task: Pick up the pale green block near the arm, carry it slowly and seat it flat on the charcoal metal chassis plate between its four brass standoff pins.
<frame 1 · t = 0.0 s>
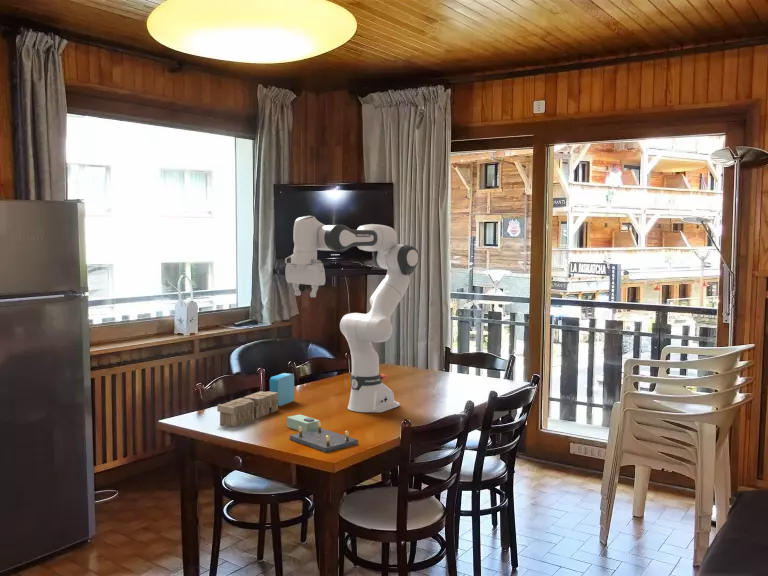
hand: (305, 296, 268), 48 cm above the table, fingers open, 8 cm apart
chassis: (323, 441, 246), on the table
data package: (282, 403, 300), on the table
pale green block: (303, 429, 262), on the table
block tower: (248, 418, 277), on the table
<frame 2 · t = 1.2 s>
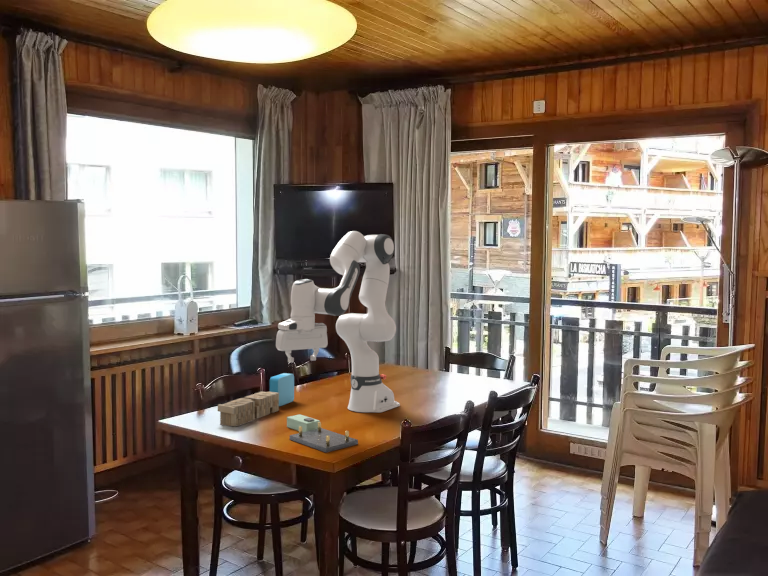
hand: (302, 361, 261), 25 cm above the table, fingers open, 8 cm apart
nothing on the table moved.
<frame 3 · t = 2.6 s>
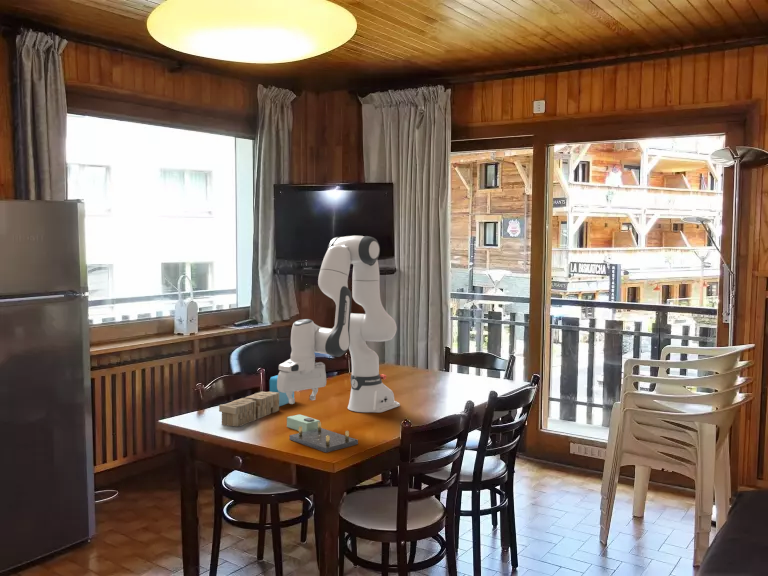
hand: (302, 401, 261), 10 cm above the table, fingers open, 8 cm apart
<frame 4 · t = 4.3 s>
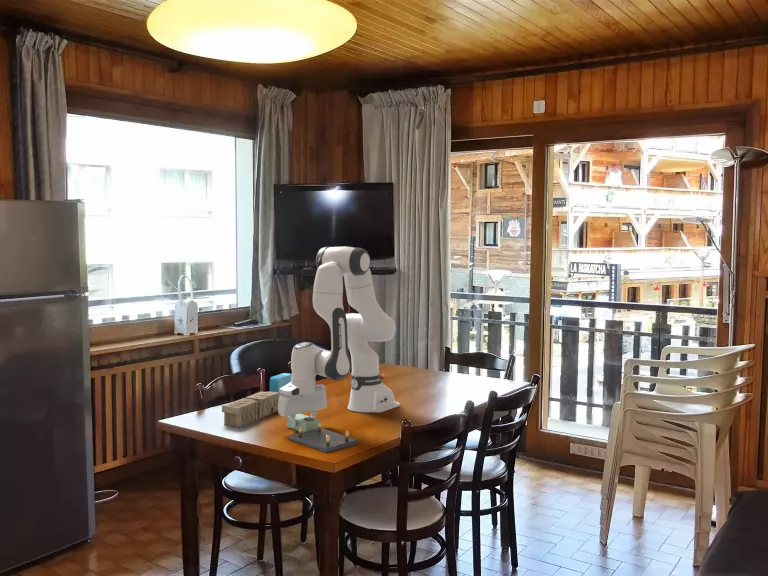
hand: (303, 424, 262), 2 cm above the table, fingers closed on pale green block, 6 cm apart
pale green block: (303, 428, 262), on the table, touching gripper
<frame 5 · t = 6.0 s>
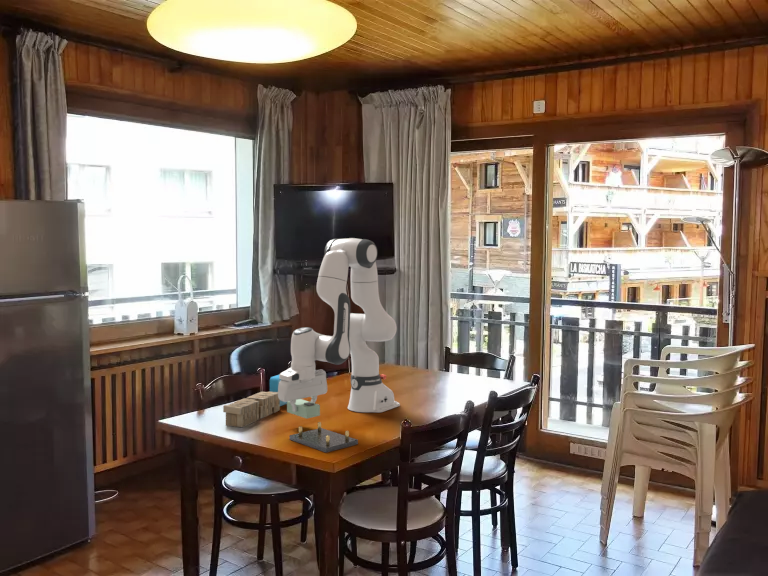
hand: (303, 409, 262), 7 cm above the table, fingers closed on pale green block, 6 cm apart
pale green block: (303, 413, 262), point 5 cm above the table, touching gripper
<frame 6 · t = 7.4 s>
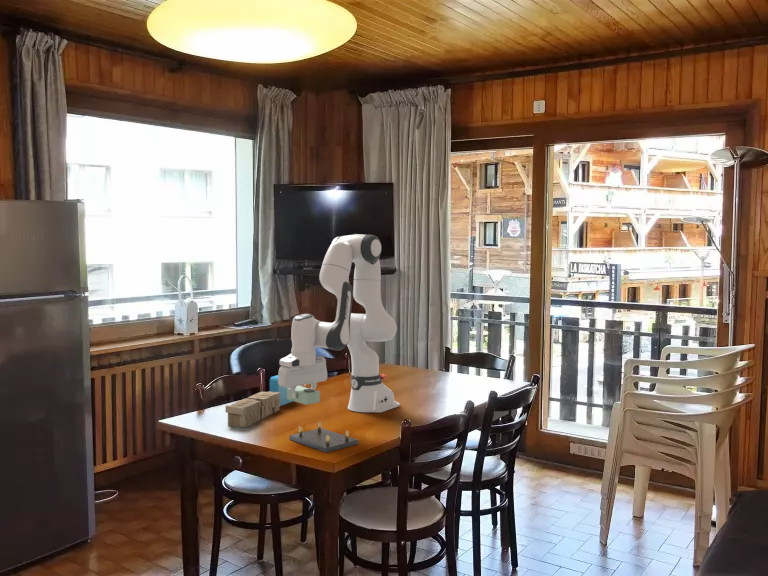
hand: (303, 396, 261), 12 cm above the table, fingers closed on pale green block, 6 cm apart
pale green block: (303, 400, 261), point 10 cm above the table, touching gripper
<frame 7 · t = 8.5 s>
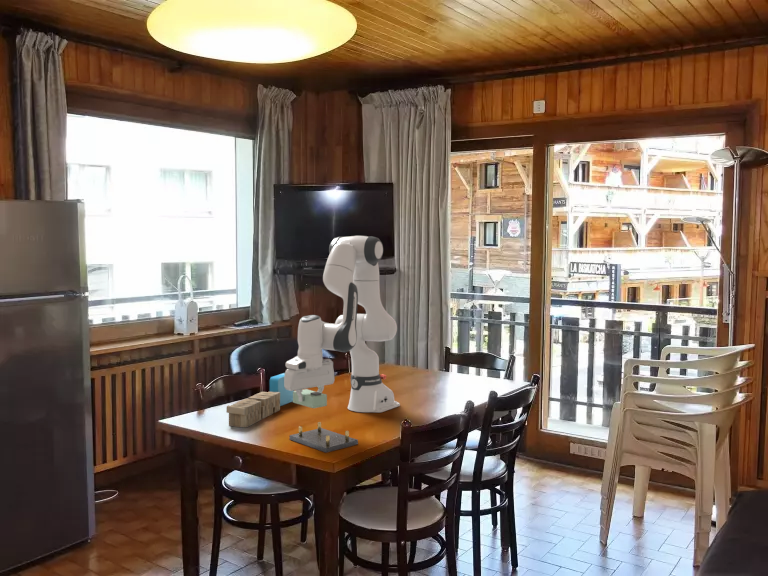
hand: (309, 399, 255), 12 cm above the table, fingers closed on pale green block, 6 cm apart
pale green block: (309, 404, 255), point 11 cm above the table, touching gripper
when the fingers open (4 cm above the table, at t = 13.9 s): pale green block stays where it is, resting on chassis.
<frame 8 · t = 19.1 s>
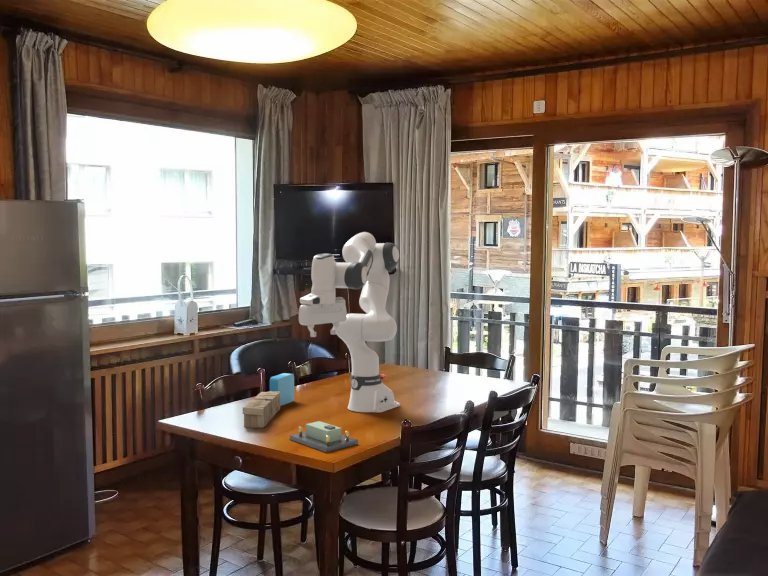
hand: (323, 335, 262), 34 cm above the table, fingers open, 8 cm apart
pale green block: (323, 437, 246), point 1 cm above the table, touching chassis
block tower: (262, 419, 276), on the table
everything else where it was.
at the end: pale green block 0.2 cm off-centre on the chassis, point 1.5 cm above the chassis's base; pale green block tilted 0°; the gripper is holding nothing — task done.
